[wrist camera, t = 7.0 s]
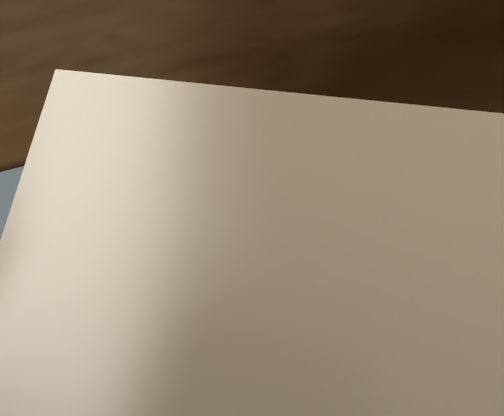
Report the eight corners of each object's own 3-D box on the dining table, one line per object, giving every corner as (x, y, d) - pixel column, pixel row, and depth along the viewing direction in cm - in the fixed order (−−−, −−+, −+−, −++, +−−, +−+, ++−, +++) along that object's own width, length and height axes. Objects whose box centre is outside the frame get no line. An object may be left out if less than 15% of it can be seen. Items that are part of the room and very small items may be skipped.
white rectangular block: (396, 494, 13) (601, 959, 4) (166, 433, 15) (-133, 648, 5) (421, 252, 15) (609, 123, 5) (212, 219, 16) (55, 68, 7)
